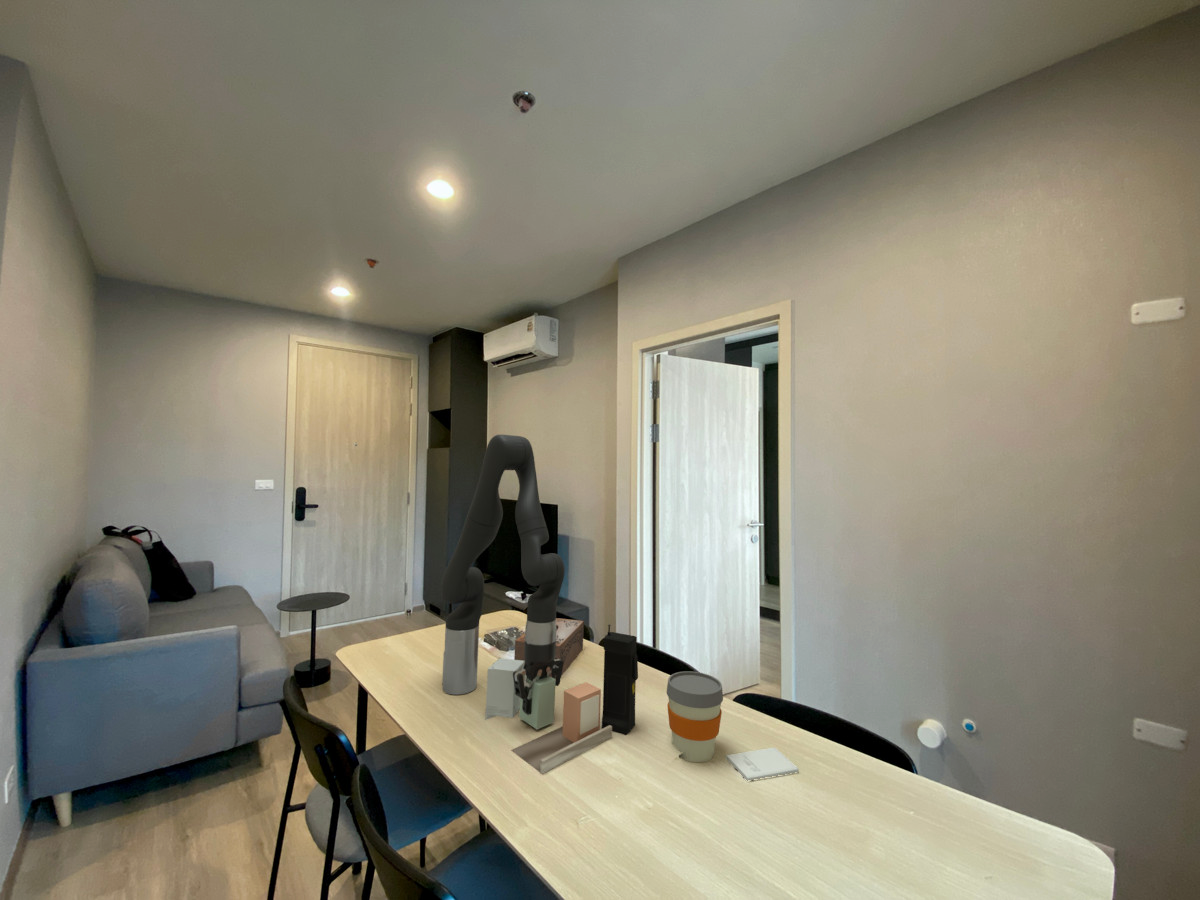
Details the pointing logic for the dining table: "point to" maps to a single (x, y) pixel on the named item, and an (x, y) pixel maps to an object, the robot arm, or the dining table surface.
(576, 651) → the tissue box cover
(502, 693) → the supplement box
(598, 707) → the terracotta tin
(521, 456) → the robot arm
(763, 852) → the dining table surface
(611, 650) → the portable radio
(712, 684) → the reusable coffee cup
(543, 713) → the tea tin
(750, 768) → the external hard drive
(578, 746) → the shallow tray
